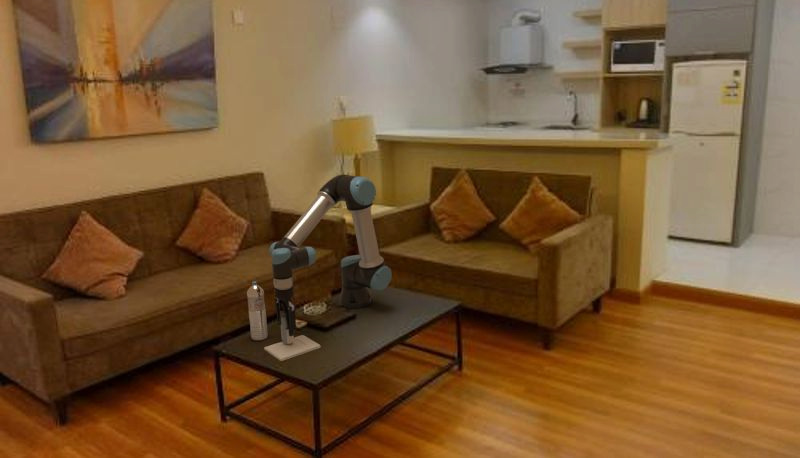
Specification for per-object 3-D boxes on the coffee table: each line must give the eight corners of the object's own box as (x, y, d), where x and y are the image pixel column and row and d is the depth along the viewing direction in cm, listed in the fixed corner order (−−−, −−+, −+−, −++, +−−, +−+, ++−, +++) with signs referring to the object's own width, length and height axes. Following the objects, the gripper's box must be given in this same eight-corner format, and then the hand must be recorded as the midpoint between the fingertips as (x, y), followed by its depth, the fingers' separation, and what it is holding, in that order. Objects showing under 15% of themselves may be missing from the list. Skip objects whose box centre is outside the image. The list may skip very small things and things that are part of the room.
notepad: (302, 337, 264) (302, 334, 264) (320, 347, 254) (320, 345, 253) (264, 349, 253) (264, 347, 253) (281, 361, 243) (280, 358, 242)
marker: (290, 339, 259) (287, 307, 256) (295, 342, 256) (292, 310, 252) (281, 342, 257) (278, 310, 253) (286, 345, 253) (283, 313, 250)
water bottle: (251, 342, 261) (246, 285, 254) (251, 335, 267) (245, 280, 261) (268, 339, 262) (263, 283, 256) (267, 333, 269) (262, 278, 263)
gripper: (265, 283, 254) (269, 337, 260) (285, 294, 242) (290, 350, 247) (281, 279, 259) (285, 332, 265) (302, 289, 246) (306, 344, 252)
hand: (287, 340), depth 256 cm, fingers closed on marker, 4 cm apart
